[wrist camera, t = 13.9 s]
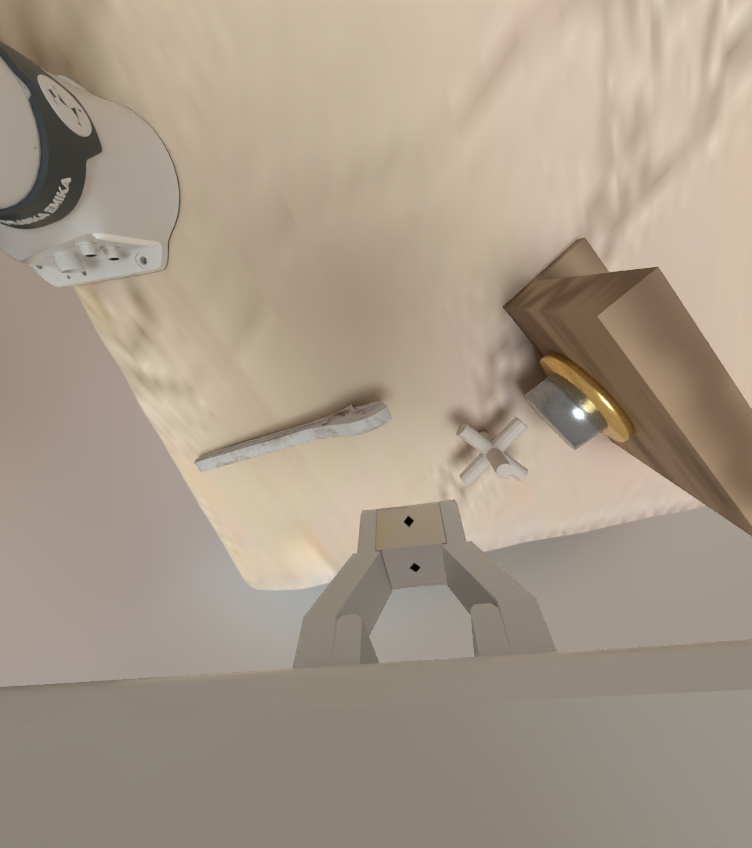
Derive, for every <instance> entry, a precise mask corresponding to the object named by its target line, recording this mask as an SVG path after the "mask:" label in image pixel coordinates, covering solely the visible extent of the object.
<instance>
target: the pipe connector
mask: <svg viewBox="0 0 752 848" xmlns="http://www.w3.org/2000/svg"><path fill="white" fill-rule="evenodd" d="M527 428H528V427H527V426H526V425H525V424H524V423H523V422H521V421H520V420H519V419H518V418H516V417H515V418H514V419H513V420H512V421H511V422H510V423H509V424H508V425H507V427H506V428H505V429H504V430H503V431H502V432H501V433H500V434H499V435H498V436H497V437H496V438H495V439H494V440H493V439H492V438H491V437H490V435H489V434H488V433H487V432H485V431H481V432H477V431H476V430H475V429H473V428H472V427H471V426H469V425H468V424H467V423H464V424H462V425H461V426H460V427H459V429H458V430H457V435H458V436H459V437H461V438H462V439H463V440H465V441H466V442H467V443H469V444H470V445H471V446H473V447H474V448H475V449H477V450H478V451H479V452H481V454H480V455H479V456H478V457H477V458H476V459H475V460H474V461H473V462H472V463H471V464H470V465H469V466H468V467H467V468H466V469H465V470H464V471H463V472H462V473H461V474H460V476H459V477H460V478H461V480H462V481H463V482H464V483H466V484H467V485H469V486H471V485H472V484H473V483H474V482H475V481H476V479H477V478H478V477H479V476H480V475H481V474H482V473H483V472H484V471H485V470H486V469H487V468H488V467H489V466H490V465H492V467H493V469H494V470H495V472H496V474H497V475H498V476H499V477H500V478H503V479H505V478H509V477H510V476H513V477H514V478H515V479H517V480H518V481H521V480H523V479H524V478H525V477H526V476H527V474H528V470H527V469H526V468H525V467H523V466H522V465H521V464H519V463H518V462H517V461H515V460H514V459H513V458H511V457H510V456H509V455H508V454H506V453H505V452H504V451H505V450H506V449H507V448H508V447H509V446H510V445H511V444H512V443H513V442H514V441H515V440H516V439H517V438H518V437H519V436H520V435H521V434H522V433H523V432H524V431H525V430H526V429H527Z"/></svg>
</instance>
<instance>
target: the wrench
mask: <svg viewBox="0 0 752 848" xmlns="http://www.w3.org/2000/svg"><path fill="white" fill-rule="evenodd" d="M390 419H391V416H390V413H389V410H388V408H387V405H384V403H383V402H381V401H377V402H371V403H366V404H363V405H359V406H356V407H353V406H352V404H351V405H349V406H347V407H346V408H344V409H342V410H340V411H338V412H336V413H333V414H331V415H329V416H327V417H324V418H322V419H319V420H317V421H313V422H310V423H307V424H304V425H300V426H297V427H294V428H290V429H287V430H283V431H280V432H277V433H273V434H270V435H267V436H263V437H260V438H257V439H253V440H250V441H246V442H243V443H240V444H236V445H233V446H230V447H226V448H223V449H219V450H216V451H213V452H210V453H207V454H205V455H203V456H201V457H199V458H198V459H196V460H195V464H196V465H197V467H198V469H199V470H200V471H201V472H203V471H207V470H210V469H214V468H217V467H221V466H224V465H228V464H231V463H235V462H238V461H242V460H245V459H249V458H252V457H256V456H259V455H263V454H266V453H270V452H273V451H277V450H280V449H284V448H287V447H291V446H294V445H298V444H302V443H305V442H309V441H312V440H316V439H323V438H330V437H341V436H355V435H360V434H363V433H367V432H370V431H372V430H374V429H376V428H378V427H380V426H382V425H384V424H385V423H387V422H388V421H389V420H390Z"/></svg>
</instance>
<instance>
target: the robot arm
mask: <svg viewBox="0 0 752 848" xmlns="http://www.w3.org/2000/svg"><path fill="white" fill-rule="evenodd" d="M178 209H179V188H178V181H177V177H176V173H175V169H174V166H173V163H172V161H171V158H170V156H169V154H168V152H167V150H166V148H165V146H164V144H163V143H162V141H161V140H160V138H159V137H158V135H157V134H156V133H155V132H154V130H153V129H152V128H151V127H150V126H149V125H148V124H147V123H146V122H145V121H144V120H143V119H142V118H141V117H140V116H138V115H137V114H136V113H134V112H133V111H131V110H129V109H128V108H126V107H124V106H122V105H119V104H117V103H114V102H111V101H108V100H105V99H102V98H100V97H98V96H95V95H93V94H91V93H90V92H89V91H87V90H86V89H85V88H84V87H82V86H81V85H80V84H78V83H77V82H75V81H73V80H71V79H69V78H67V77H65V76H63V75H56V76H55V75H53V74H51V73H49V72H47V71H45V70H43V69H41V68H40V67H38V66H37V65H36V64H35V63H33V62H32V61H31V60H29V59H28V58H26V57H25V56H23V55H22V54H20V53H19V52H17V51H15V50H14V49H12V48H11V47H9V46H7V45H6V44H4V43H3V42H1V41H0V249H1V250H2V251H3V252H4V253H6V254H7V255H8V256H10V257H11V258H13V259H15V260H17V261H19V262H22V263H27V264H29V265H30V267H31V268H32V269H33V270H34V271H35V272H36V273H37V274H38V275H40V276H41V277H42V278H43V279H45V280H46V281H47V282H49V283H50V284H52V285H53V286H56V287H62V288H66V287H73V286H79V285H84V284H90V283H96V282H101V281H107V280H112V279H118V278H124V277H129V276H135V275H141V274H146V273H152V272H157V271H161V270H163V269H165V267H166V265H167V259H168V240H169V237H170V234H171V232H172V230H173V227H174V225H175V222H176V219H177V215H178ZM145 258H146V259H147V264H145V262H144V259H145ZM42 266H43V267H42ZM430 585H447V586H448V587H449V588H450V590H451V591H452V592H453V593H454V595H455V596H456V597H457V598H458V600H459V601H460V602H461V604H462V605H463V606H464V607H465V609H466V610H467V611H468V612H469V614H470V615H471V623H472V634H473V645H474V657H466V658H450V659H434V660H419V661H403V662H389V663H379V661H378V658H377V656H376V653H375V651H374V648H373V645H372V643H371V640H370V638H369V635H370V633H371V631H372V629H373V628H374V625H375V624H376V622H377V620H378V617H379V615H380V614H381V612H382V610H383V608H384V606H385V604H386V602H387V600H388V598H389V596H390V594H391V593H392V590H393V589H401V588H409V587H417V586H430ZM0 848H752V639H748V640H732V641H716V642H701V643H686V644H669V645H654V646H638V647H623V648H608V649H593V650H577V651H561V652H557V650H556V647H555V645H554V643H553V640H552V637H551V635H550V633H549V630H548V627H547V625H546V622H545V620H544V618H543V615H542V612H541V610H540V607H539V605H538V602H537V600H536V598H535V597H534V596H533V595H532V594H530V593H529V592H528V591H527V590H526V589H525V588H524V587H523V586H521V585H520V584H519V583H518V582H517V581H516V580H515V579H513V578H512V577H511V576H510V575H509V574H508V573H507V572H505V571H504V570H503V569H502V568H501V567H500V566H499V565H498V564H497V563H495V562H494V561H493V560H492V559H490V557H488V556H487V555H486V554H485V553H484V552H483V551H482V550H481V549H480V548H478V547H477V546H476V545H475V544H474V543H473V542H472V541H470V542H466V538H465V534H464V530H463V526H462V522H461V518H460V514H459V510H458V506H457V502H456V501H455V499H454V500H447V501H439V502H432V503H424V504H417V505H409V506H402V507H392V508H382V509H375V510H364V511H362V513H361V518H360V529H359V541H358V552H357V553H356V554H352V556H351V557H350V558H349V559H348V561H347V562H346V563H345V565H344V566H343V567H342V568H341V570H340V571H339V572H338V574H337V575H336V576H335V577H334V579H333V580H332V581H331V583H330V584H329V585H328V587H327V588H326V589H325V590H324V592H323V593H322V594H321V595H320V597H319V598H318V599H317V601H316V602H315V603H314V604H313V606H312V607H311V608H310V610H309V611H308V612H307V613H306V615H305V616H304V618H303V622H302V627H301V632H300V637H299V641H298V645H297V650H296V655H295V660H294V664H293V669H279V670H266V671H265V670H264V671H248V672H232V673H217V674H201V675H186V676H170V677H156V678H155V677H154V678H138V679H122V680H107V681H92V682H75V683H59V684H43V685H27V686H11V687H10V686H9V687H0Z"/></svg>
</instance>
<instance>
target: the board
mask: <svg viewBox="0 0 752 848" xmlns="http://www.w3.org/2000/svg"><path fill="white" fill-rule="evenodd" d="M503 308H504V309H505V310H506V311H507V312H508V314H509V315H510V316H511V317H512V319H513V320H514V321H515V322H516V324H517V325H518V326H519V327H520V329H521V330H522V331H523V332H524V333H525V335H526V336H527V337H528V338H529V340H530V341H531V342H532V343H533V345H534V346H535V347H536V348H537V349H538V351H539V352H540V353H541V354H542V356H543V357H544V356H545V355H547V354H548V353H549V352H551V351H554V352H557V353H560V354H562V355H564V356H565V357H567V358H569V359H570V360H572V361H573V362H574V363H576V364H577V365H578V366H580V367H581V368H582V369H584V370H585V371H586V372H587V373H588V374H590V375H591V376H592V377H593V378H594V379H595V380H596V381H597V382H598V383H599V384H601V385H602V386H603V387H604V388H605V389H606V390H607V391H608V393H609V394H610V395H611V396H612V397H613V398H614V399H615V400H616V401H617V402H618V404H619V405H620V406H621V407H622V408H623V410H624V411H625V412H626V414H627V415H628V417H629V418H630V420H631V421H632V423H633V425H634V427H635V430H636V433H635V435H634V436H632V437H631V438H629V439H628V440H626V441H625V442H622V443H621V442H618V441H615V440H614V439H612V438H610V437H609V436H608V437H609V438H610V439H611V441H612V442H613V443H615V444H616V445H618V446H619V447H621V448H622V449H624V450H625V451H627V452H628V453H630V454H631V455H633V456H634V457H636V458H637V459H638V460H640V461H641V462H643V463H644V464H646V465H647V466H649V467H650V468H652V469H653V470H655V471H656V472H658V473H659V474H661V475H662V476H664V477H665V478H667V479H668V480H670V481H671V482H673V483H674V484H675V485H677V486H678V487H680V488H681V489H683V490H684V491H686V492H687V493H689V494H690V495H692V496H693V497H695V498H696V499H698V500H699V501H701V502H702V503H704V504H705V505H707V506H708V507H710V508H711V509H713V510H714V511H715V512H717V513H718V514H720V515H721V516H723V517H724V518H726V519H727V520H729V521H730V522H732V523H733V524H735V525H736V526H738V527H739V528H741V529H742V530H744V531H745V532H746V533H748V534H749V535H751V536H752V409H751V408H750V406H749V404H748V403H747V401H746V400H745V398H744V397H743V395H742V394H741V392H740V391H739V389H738V388H737V386H736V385H735V383H734V382H733V380H732V379H731V377H730V375H729V374H728V372H727V371H726V369H725V368H724V366H723V365H722V363H721V362H720V360H719V359H718V357H717V356H716V354H715V353H714V351H713V350H712V348H711V346H710V345H709V343H708V342H707V340H706V339H705V337H704V336H703V334H702V333H701V331H700V330H699V328H698V327H697V325H696V324H695V322H694V321H693V319H692V317H691V316H690V314H689V313H688V311H687V310H686V308H685V307H684V305H683V304H682V302H681V301H680V299H679V298H678V296H677V295H676V293H675V292H674V290H673V288H672V287H671V285H670V284H669V282H668V281H667V279H666V278H665V276H664V275H663V273H662V272H661V270H660V269H659V267H652V268H644V269H635V270H626V271H618V272H609V271H608V270H607V268H606V267H605V266H604V264H603V263H602V261H601V260H600V258H599V257H598V256H597V254H596V253H595V251H594V250H593V248H592V247H591V246H590V244H589V243H588V241H587V240H586V238H582V239H579V240H577V241H576V242H575V243H574V244H573V245H571V246H570V247H569V248H568V249H567V250H566V251H565V252H564V253H563V254H561V255H560V256H559V257H558V258H557V259H556V260H555V261H554V262H553V263H551V264H550V265H549V266H548V267H547V268H546V269H545V270H544V271H543V272H541V273H540V274H539V275H538V276H537V277H536V278H535V279H534V280H533V281H531V282H530V283H529V284H528V285H527V286H526V287H525V288H524V289H522V290H521V291H520V292H519V293H518V294H517V295H516V296H515V297H514V298H512V299H511V300H510V301H509V302H508V303H507V304H506V305H505V306H504V307H503Z"/></svg>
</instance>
